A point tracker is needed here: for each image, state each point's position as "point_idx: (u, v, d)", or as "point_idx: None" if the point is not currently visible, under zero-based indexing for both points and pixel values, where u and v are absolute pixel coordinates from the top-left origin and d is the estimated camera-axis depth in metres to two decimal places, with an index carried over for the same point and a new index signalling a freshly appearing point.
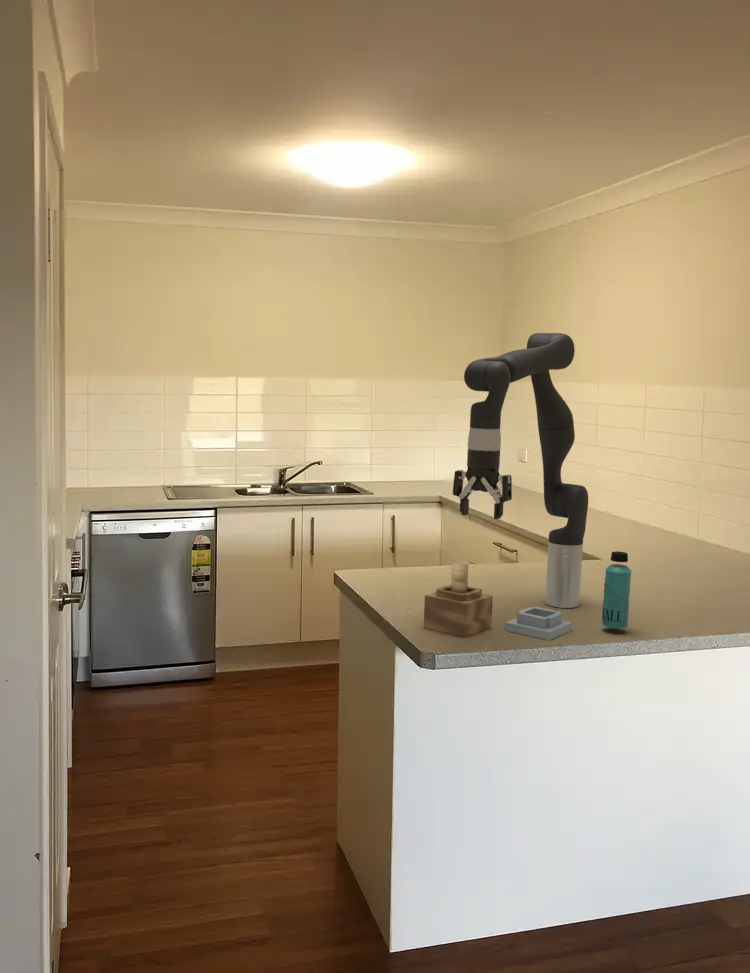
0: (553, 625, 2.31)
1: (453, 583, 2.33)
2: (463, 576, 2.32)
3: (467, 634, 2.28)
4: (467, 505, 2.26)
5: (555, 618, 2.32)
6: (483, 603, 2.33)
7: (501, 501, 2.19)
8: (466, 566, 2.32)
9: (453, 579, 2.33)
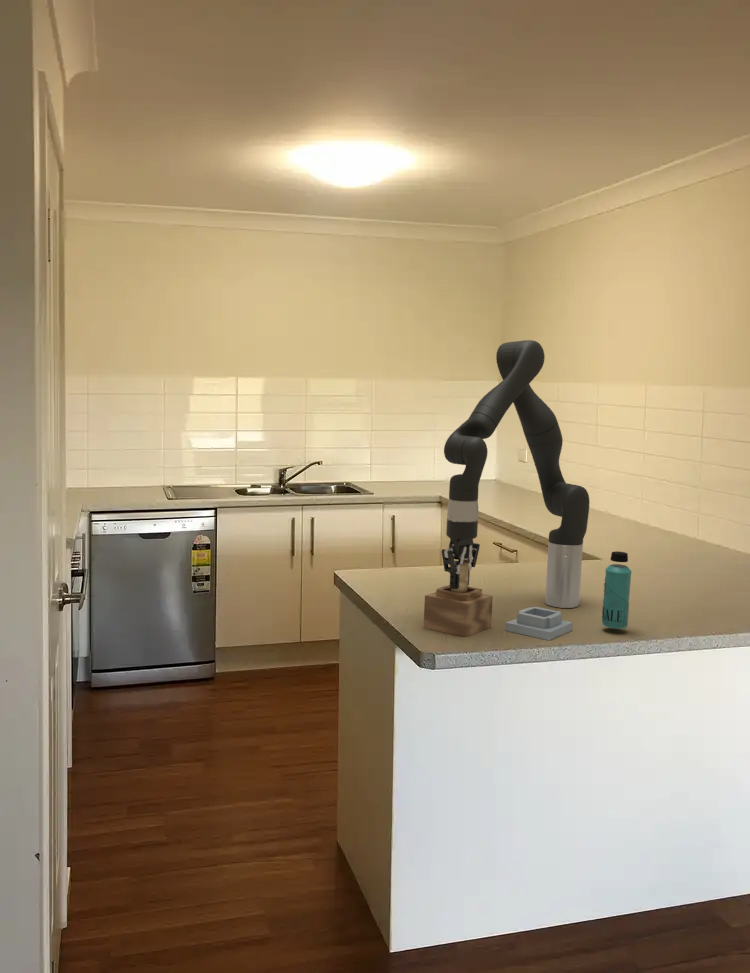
0: (553, 625, 2.31)
1: None
2: (463, 576, 2.32)
3: (467, 634, 2.28)
4: None
5: (555, 618, 2.32)
6: (483, 603, 2.33)
7: None
8: (466, 566, 2.32)
9: None
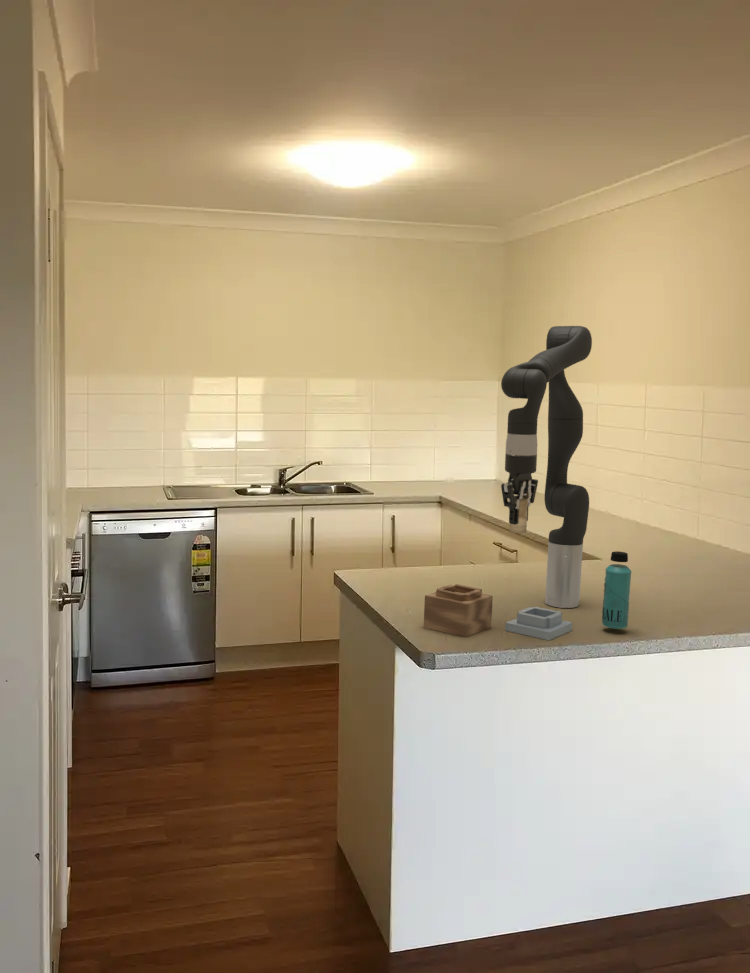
0: (553, 625, 2.31)
1: None
2: (522, 511, 2.30)
3: (467, 634, 2.28)
4: None
5: (555, 618, 2.32)
6: (483, 603, 2.33)
7: None
8: (525, 501, 2.30)
9: None
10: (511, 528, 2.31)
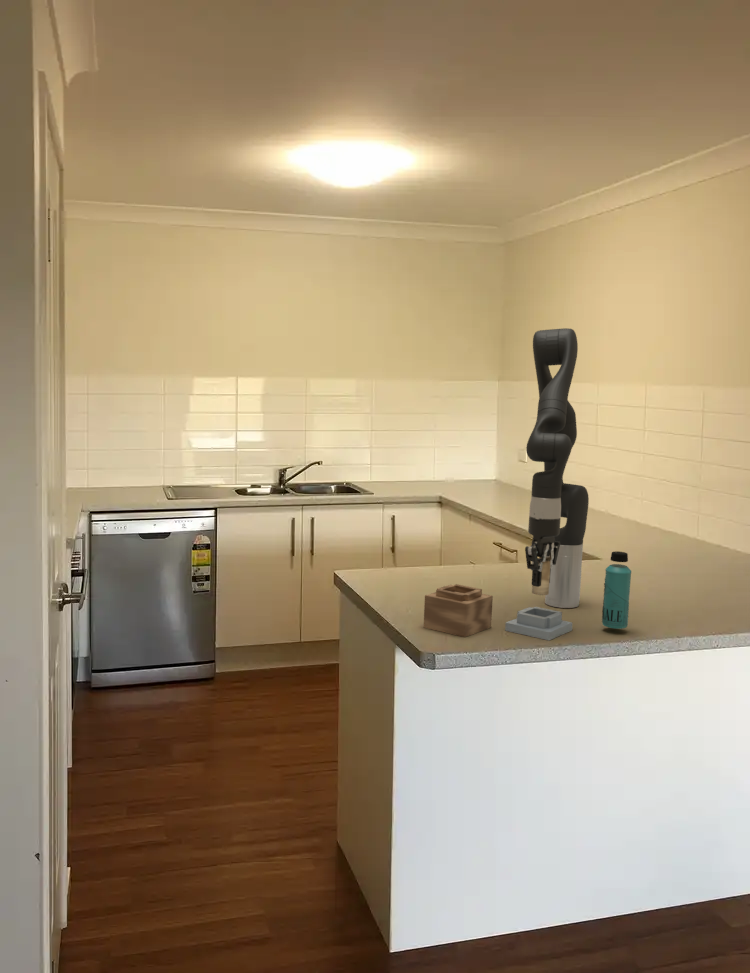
0: (553, 625, 2.31)
1: None
2: (545, 574, 2.32)
3: (467, 634, 2.28)
4: None
5: (555, 618, 2.32)
6: (483, 603, 2.33)
7: None
8: (548, 563, 2.32)
9: None
10: (534, 590, 2.33)
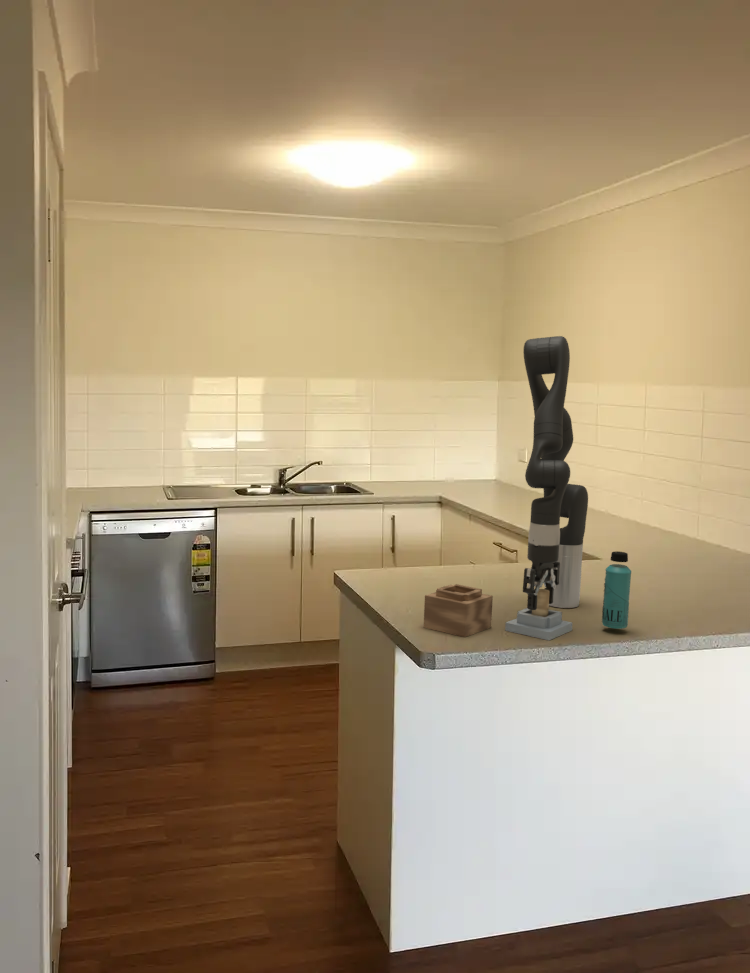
0: (553, 625, 2.31)
1: (534, 610, 2.33)
2: (544, 603, 2.33)
3: (467, 634, 2.28)
4: None
5: (555, 618, 2.32)
6: (483, 603, 2.33)
7: None
8: (547, 593, 2.33)
9: None
10: None
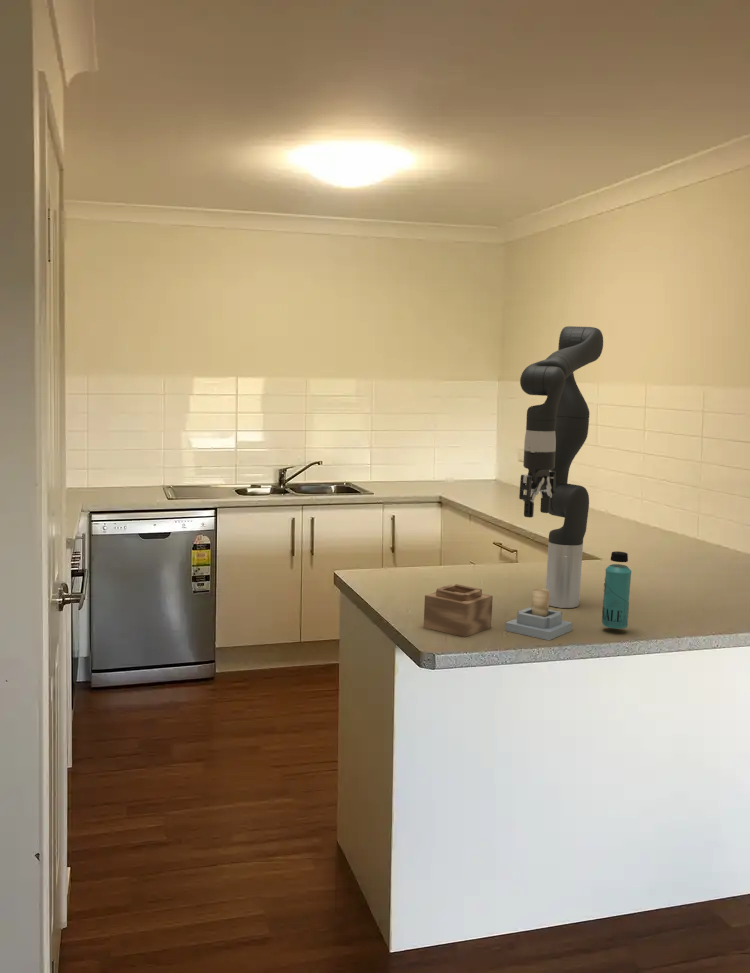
0: (553, 625, 2.31)
1: (534, 610, 2.33)
2: (544, 603, 2.33)
3: (467, 634, 2.28)
4: None
5: (555, 618, 2.32)
6: (483, 603, 2.33)
7: None
8: (547, 593, 2.33)
9: (534, 606, 2.33)
10: None
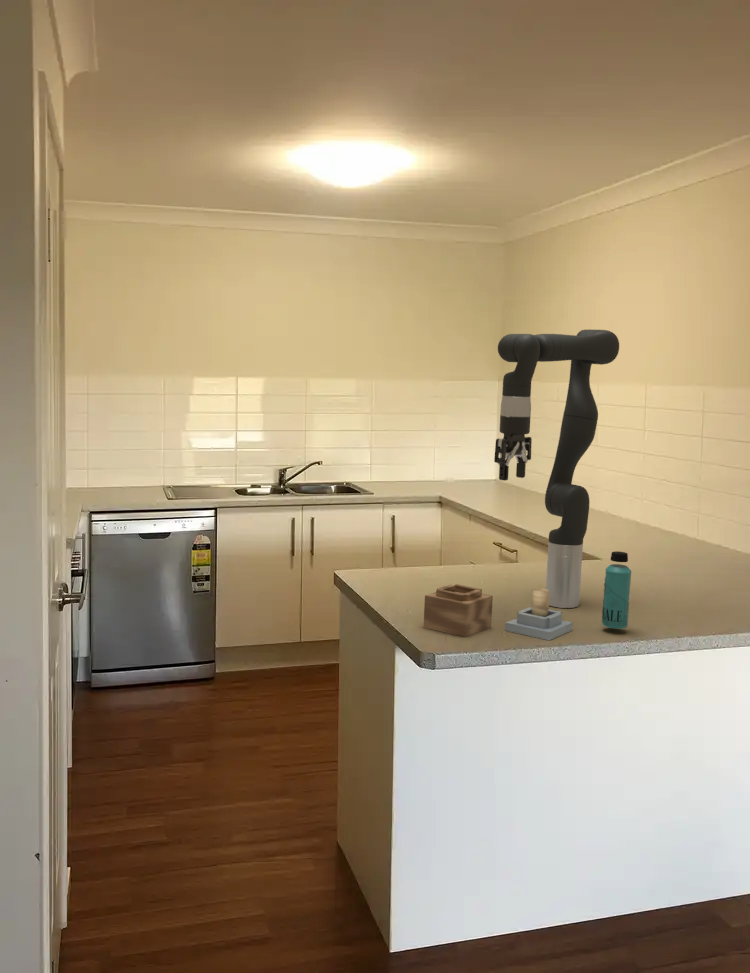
0: (553, 625, 2.31)
1: (534, 610, 2.33)
2: (544, 603, 2.33)
3: (467, 634, 2.28)
4: None
5: (555, 618, 2.32)
6: (483, 603, 2.33)
7: None
8: (547, 593, 2.33)
9: (534, 606, 2.33)
10: None
